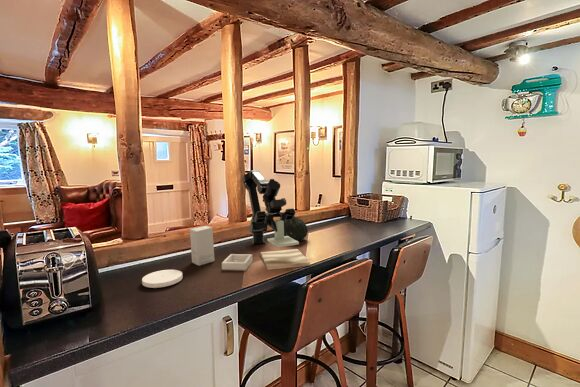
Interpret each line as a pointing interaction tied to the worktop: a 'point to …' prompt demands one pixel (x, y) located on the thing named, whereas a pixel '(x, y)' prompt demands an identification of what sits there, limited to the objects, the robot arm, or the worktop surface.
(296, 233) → the squash
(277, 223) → the sage lid
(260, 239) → the robot arm
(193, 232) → the skincare box
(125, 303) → the worktop surface
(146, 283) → the plastic lid
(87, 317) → the worktop surface
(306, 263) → the birch board
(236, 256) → the tray
